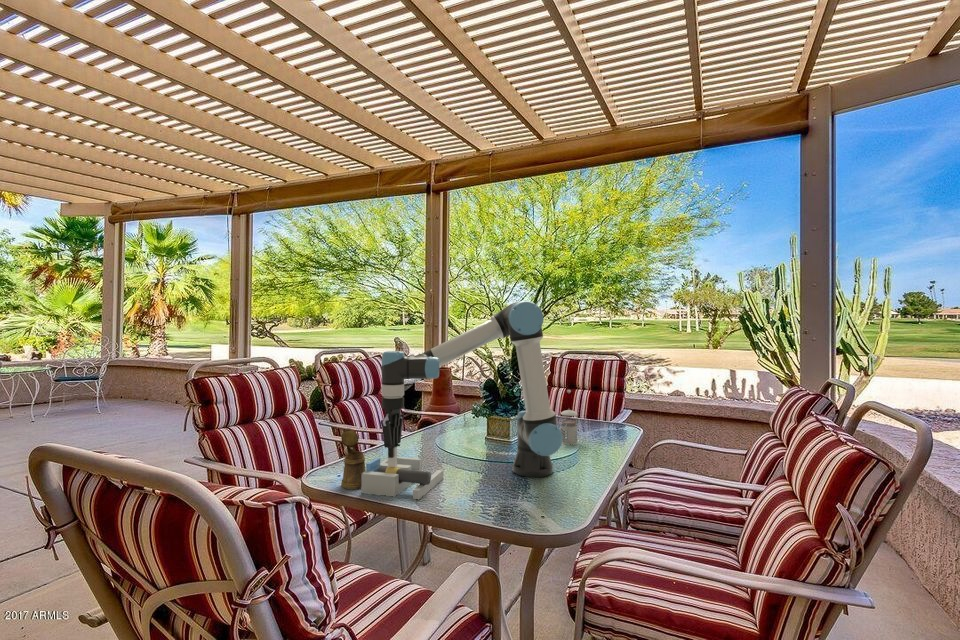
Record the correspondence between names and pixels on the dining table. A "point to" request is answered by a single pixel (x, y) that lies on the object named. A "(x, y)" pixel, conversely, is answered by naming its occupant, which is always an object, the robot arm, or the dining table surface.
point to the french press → (569, 428)
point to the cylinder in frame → (395, 478)
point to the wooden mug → (352, 461)
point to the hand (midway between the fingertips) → (392, 466)
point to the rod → (408, 475)
